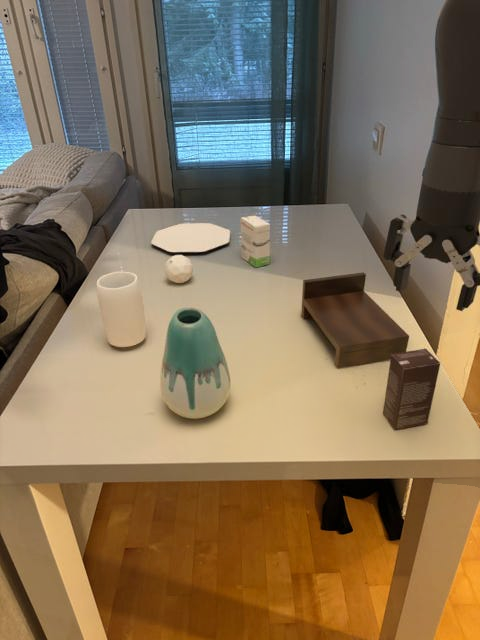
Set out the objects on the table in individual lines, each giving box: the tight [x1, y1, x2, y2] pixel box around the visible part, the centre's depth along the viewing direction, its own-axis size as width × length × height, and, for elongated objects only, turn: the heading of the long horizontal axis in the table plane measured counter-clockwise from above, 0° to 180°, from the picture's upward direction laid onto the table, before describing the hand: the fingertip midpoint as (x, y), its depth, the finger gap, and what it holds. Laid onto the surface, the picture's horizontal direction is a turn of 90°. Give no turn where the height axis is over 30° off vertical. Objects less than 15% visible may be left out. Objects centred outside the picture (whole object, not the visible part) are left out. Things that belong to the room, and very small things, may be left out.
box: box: [382, 348, 441, 430], centre depth 72 cm, size 6×4×12 cm
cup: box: [96, 271, 147, 348], centre depth 93 cm, size 8×8×14 cm
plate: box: [150, 222, 231, 254], centre depth 144 cm, size 24×24×2 cm
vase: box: [159, 307, 231, 420], centre depth 75 cm, size 12×12×18 cm
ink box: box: [240, 215, 271, 268], centre depth 127 cm, size 9×5×12 cm, turn 27°
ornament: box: [164, 254, 194, 284], centre depth 118 cm, size 7×7×8 cm
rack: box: [300, 272, 410, 370], centre depth 95 cm, size 14×20×9 cm
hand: (429, 298), depth 65 cm, fingers open, 8 cm apart
